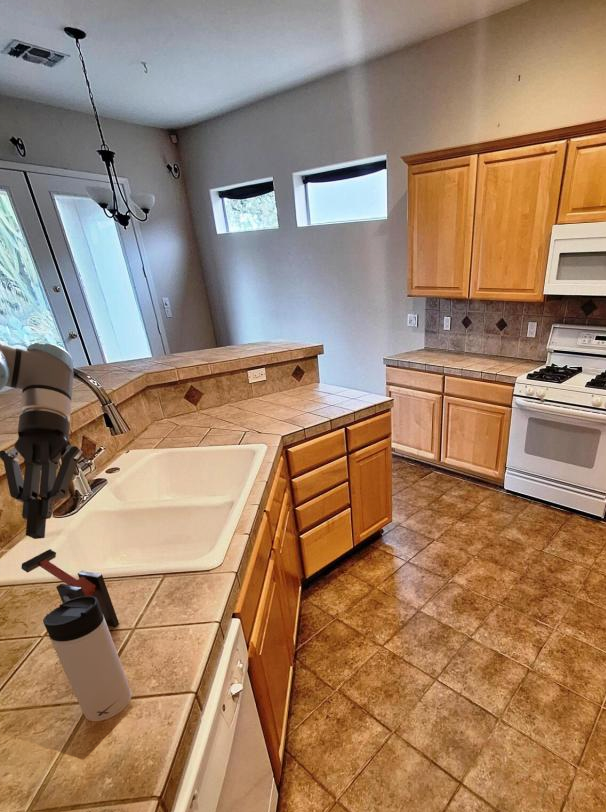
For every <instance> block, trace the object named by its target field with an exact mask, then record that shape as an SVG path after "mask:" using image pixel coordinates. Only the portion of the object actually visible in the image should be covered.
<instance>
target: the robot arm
mask: <svg viewBox="0 0 606 812" xmlns="http://www.w3.org/2000/svg"><path fill="white" fill-rule="evenodd" d="M74 377H75V373H74V359H73V357H72V355H71V354H70V353H69V352H68V351H67V350H66V349H64V348H63V347H61V346H59V345H57V344H55V343H54V344H53V343H49V342H45V343H42V342H33V343H30V344H29V345H28V346H27V348H26V349H23V348H17V347H16V348H15V347H12V346H9V345H5V344H1V343H0V391H1V390H2V389H3V388H5V387H8V388H12V389H18V390H21V399H20V405H19V406H20V407H19V417H18V425H17V436H18V439H17V440H16V441H15V443H14V445H13V447H12V448H10V449H9V450H8V451H5V450H0V459H1V461H2V462H3V466H4V472H5V476H6V481H7V485H8V490H9V495H10V497H11V498H13V499H14V500H16V501H18V502H20V503H22V513H21V516H22V519H24V520H26V527H25V536H27V537H29V538H31V539H35V540H39V539H45V537H46V524H47V520H49V519H51V518H52V516H53V503H54V502H55V501H57V500H59V499H61V500H62V499H64V498H66V496H67V494H68V492H69V488H70V486H71V483H72V480H73V477H74V475H75V472H76V468H77V466H78V464H79V462H80V461H81V459H82V458H83V457H84V456H85V453H84V451H82V450H81V449H80V448H79V447H78V446H76V445H71V442H70V440H69V439H70V430H71V429H70V428H71V422H70V421H71V411H72V398H73V397H72V396H73V387H74ZM20 456H21V457H22V458H23V464H24V475H23V474H22V469H21V465H20V463H19V462H20ZM62 457H63V459H62ZM61 459H62V461H61V464H59V463H60V462H59V461H60V460H61ZM59 465H60V466H59ZM57 470H58V472H57Z"/></svg>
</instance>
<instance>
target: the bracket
mask: <svg viewBox="0 0 606 812" xmlns="http://www.w3.org/2000/svg"><path fill="white" fill-rule="evenodd" d="M77 576H78V579H80V578H81V577H84V578H85V579H87V580H88V581H90V582H91V583H93V584H94V585H96V586H95V590H94V594H92V595H91V596H93V597H96V598H97V600H98V603H99V606H100V609H101V611H102V614H103V615H104V618H105V621H106V624H107V626H108V627H111V628H116V627H118V626H120V621H119V619H118V616H117V613H116V610H115V607H114V605H113V602H112V599H111V597H110V594H109V591H108V588H107V584H106V581H105V579H104V576H103V574H101V573H97V572H93V571H92V572H91V571H87V570H80V571H79V572H77ZM55 588H56V591H57V592H58V596H59V598H60V600H61V602H62V603H64V602H66V601H69V600H71V599H74V598H78V597H82V596H84V593H83V590H82V588H80V587H75V586H70V585H68V584H66V583H60V584H57V586H56V587H55Z"/></svg>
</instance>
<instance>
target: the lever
mask: <svg viewBox="0 0 606 812" xmlns="http://www.w3.org/2000/svg"><path fill="white" fill-rule="evenodd" d="M56 556H57V552H56V551H55V550H53V549H51V548H49V549H46V550H45V551H43V552H41V553H38V555H35V556H34V557H32V558H30V559H28V560H26V561H24V562H22V563H21V568H20V569H21V570H22V571H24V572H26V573H30V572H31V571H34V570H36V569H38V568H39V567H40V568H41V569H43V570H44V571H46V572H48V573H49V574H50V575H52V576H54V577H55V578H57V579H58V580H60V581H61V582H63V584H65V585H70V586H75V587H80V588H82V590H83V593H84V596H91V595H92V594H94V590H95V586H96V585H94V584H93V583H91V582H90V581H88V580H87V579H85V578H84V577H81V578H80V579H79V578H78V579H76V577H74V576H72V575H71V574H69V573H67V572H66V571H65V570H63V569H62V568H60V567H58V566H57V565H55V564H53V563H52V562H51V560H54V559H55V558H56Z"/></svg>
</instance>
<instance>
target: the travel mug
mask: <svg viewBox="0 0 606 812" xmlns="http://www.w3.org/2000/svg"><path fill="white" fill-rule="evenodd" d="M42 623H43V625H44V628H45V630H46V632H47V633H48V637H49V640H50V641H51V642H50V643H51V645H52V647H53V649H54V651H55V654H56V655H57V656H56V657H57V658H58V660H59V662H60V665H61V667H62V669H63V670H64V674H65V675H66V679H67V680H68V682H69V683H68V684H69V685H70V687H71V689H72V692H73V693H74V696H75V698H76V700H77V702H78V705H79V707H80V709H81V712H82V714H83V716H84V718H85V719H86V720H88V721H90V722H100V721H105V720H107V719H110V718H112V717H114V716H116V715H118V714H119V713H120V712H122V711H123V710H124V709H125V708H127V706H128V705H129V703H130V702H131V700H132V697H133V692H132V689H131V687H130V684H129V682H128V679H127V676H126V673H125V670H124V668H123V665H122V662H121V660H120V657H119V654H118V651H117V648H116V646H115V643H114V641H113V637H112V634H111V632H110V630H109V626H107V624H106V621H105V618H104V615H103V614H102V611H101V609H100V606H99V603H98V600H97V598H96V597H93V596H82V597H78V598H74V599H71V600H69V601H66V602H64V603H63V602H62V603H61V604H59V606H58V607H56V608H54V609H53V610H52V611H50V612H49V613H46V615H45V616H44V617H43V619H42Z"/></svg>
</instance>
